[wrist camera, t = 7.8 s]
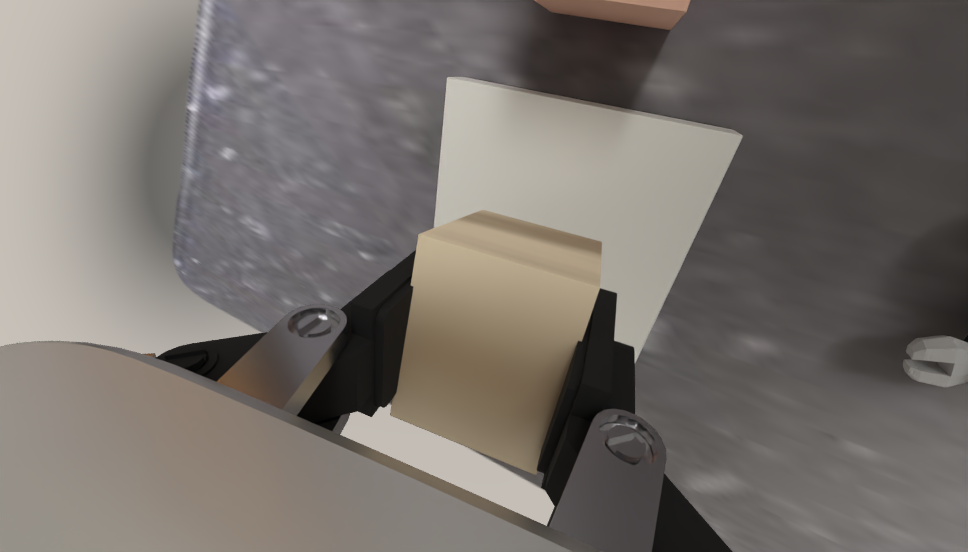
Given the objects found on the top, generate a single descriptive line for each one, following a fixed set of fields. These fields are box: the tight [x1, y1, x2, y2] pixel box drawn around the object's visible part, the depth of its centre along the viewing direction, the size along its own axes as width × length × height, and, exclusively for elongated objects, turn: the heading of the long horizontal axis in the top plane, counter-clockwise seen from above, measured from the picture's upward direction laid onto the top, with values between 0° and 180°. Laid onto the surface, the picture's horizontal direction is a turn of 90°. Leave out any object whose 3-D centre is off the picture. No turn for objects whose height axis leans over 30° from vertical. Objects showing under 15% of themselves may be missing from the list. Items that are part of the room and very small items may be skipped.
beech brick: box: [390, 210, 602, 475], centre depth 11 cm, size 5×4×5 cm
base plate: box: [434, 77, 743, 363], centre depth 16 cm, size 10×10×2 cm
